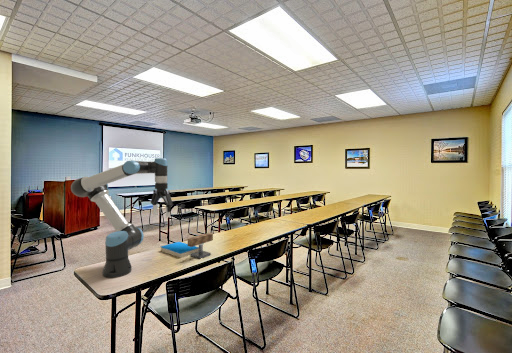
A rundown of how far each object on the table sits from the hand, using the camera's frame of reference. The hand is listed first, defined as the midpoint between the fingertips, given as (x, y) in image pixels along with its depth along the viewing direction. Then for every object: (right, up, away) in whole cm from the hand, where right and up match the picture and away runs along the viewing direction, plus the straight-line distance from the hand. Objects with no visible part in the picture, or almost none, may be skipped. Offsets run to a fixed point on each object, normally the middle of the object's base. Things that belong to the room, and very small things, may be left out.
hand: (161, 216), depth 159 cm
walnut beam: (+21, -22, +19) cm, 36 cm away
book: (+3, -32, +29) cm, 43 cm away
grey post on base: (+21, -31, +19) cm, 42 cm away
